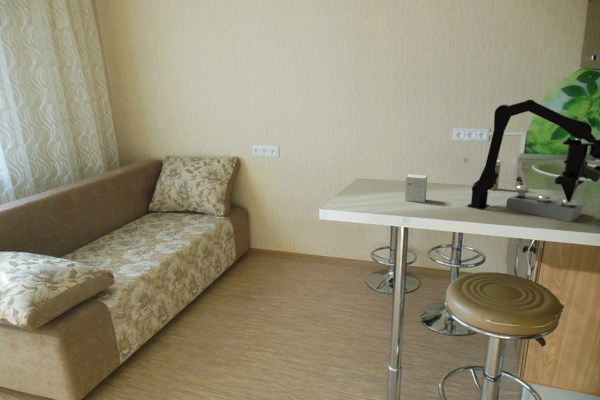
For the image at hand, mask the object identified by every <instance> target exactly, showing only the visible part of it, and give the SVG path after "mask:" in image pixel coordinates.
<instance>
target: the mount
mask: <svg viewBox="0 0 600 400" xmlns="http://www.w3.org/2000/svg"><path fill="white" fill-rule="evenodd" d="M537 199H538V195H530V194H525V199H519V198H518V193H517V194H514V195H513V196H511V197H509V198H507V200H506V206H505V209H506V210H509V211H514V212H519V213H524V214H528V215H529V214H530V215H535V216H540V217H543V218H544V217H545V218H550V219H555V220H560V221H566V222H572V221H574V220H575V219H577V218H578V217H579V216H581V215H582V209H583V203H579V202H576V206H575V207H572V208H570V207H565V206H563V205H561V203H562V200H561V199H555V198H551V202H548V203H542V202H540V201H538V200H537Z"/></svg>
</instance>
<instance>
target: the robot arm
mask: <svg viewBox="0 0 600 400" xmlns="http://www.w3.org/2000/svg"><path fill="white" fill-rule="evenodd" d="M526 112H530V113H532V114H534V115H535V116H538V117H539V118H541V119H544V120H546V121H548V122H550V123H552V124H554V125H557V126H558V127H560V128H561V129H563V130H564V131H565V132H567V133H568V134H569V135H571V136H572V137H574V138H575V139H571V137H567V138H566V139H565V140H563V141H562V142H561V143H562V144H563V145H564V146H565V145H566V146H568V147H567V153H566V159H565V160H564V161H563V164H565V165H564V170H563V171H562V172H561V174H560V175H558V176H556V177H555V179H554V184H555V185H561V187H562V190H563V193H564V195H565V199H567V200H568V201H571V199H573V198H574V195H575V193H576V191H577V189H578V187H579V186H580V185H582V184H583V183H585V181H584V180H581V179H580V178H585V180H590V181H592V182H595V183H598V182H599V181H600V165H599V164H597V165H596V166H591V165H588V160H587V154H588V156H591V158H592V160H593V159H594V160H597V159H598V160H600V139H599V138H598V139H597V138H596V137H595V136H594V135H593V134H592V131H593V129H592V125H590V124H589V123H588V122H587V121H585V120H580V119H577V118H573V117H569V116H565V115H563V114H561V113H559V112H557V111H555V110H553V109H551V108H549V107H547V106H544V105H543V104H540V103H538V102H536V101H535V100H534V99H526V100H524V101H521V102H518V103H515V104H511V105H509V104H501V105H499V106H498V107H497V108H495V110H494V116H493V119H494V120H493V132H492V136H491V142H490V145H489V149H488V153H487V158H486V160H485V165H484V167H483V170H482V172H481V174H480V177H479V179H478V180H476V181H475V182H474V183H473V185H472V187H471V201H470V203H469V204H467V205H466V206H467V207H470V208H475V209H480V210H485V209H486V208H489V207H490V204H488V203H487V202H488V195H489V191H490V189H491V188H493V186H494V184H497V177H498V175H499V176H500V173H499V171H496V163H497V160H498V159H499V155H500V152H501V151H500V150H501V146H502V142H503V139H504V138H503V137H504V135H505V131H506V129H507V126H508V124H509V122H510V120H511V117H513V116H517V115H520V114H523V113H526ZM582 140H584V141H586V142H582Z"/></svg>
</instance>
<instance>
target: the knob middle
mask: <svg viewBox="0 0 600 400" xmlns="http://www.w3.org/2000/svg"><path fill="white" fill-rule="evenodd" d="M537 197H538V199H537V200H538V201H540V202H542V203H548V202H551V199H552V195H549V194H538V195H537Z"/></svg>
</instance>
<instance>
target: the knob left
mask: <svg viewBox="0 0 600 400" xmlns="http://www.w3.org/2000/svg"><path fill="white" fill-rule="evenodd" d="M515 190H516V192H518V193H517V194H518V198H519V199H525V195H526V193H528V192H529V191H530V186H529V185H526V184H516V188H515Z"/></svg>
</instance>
